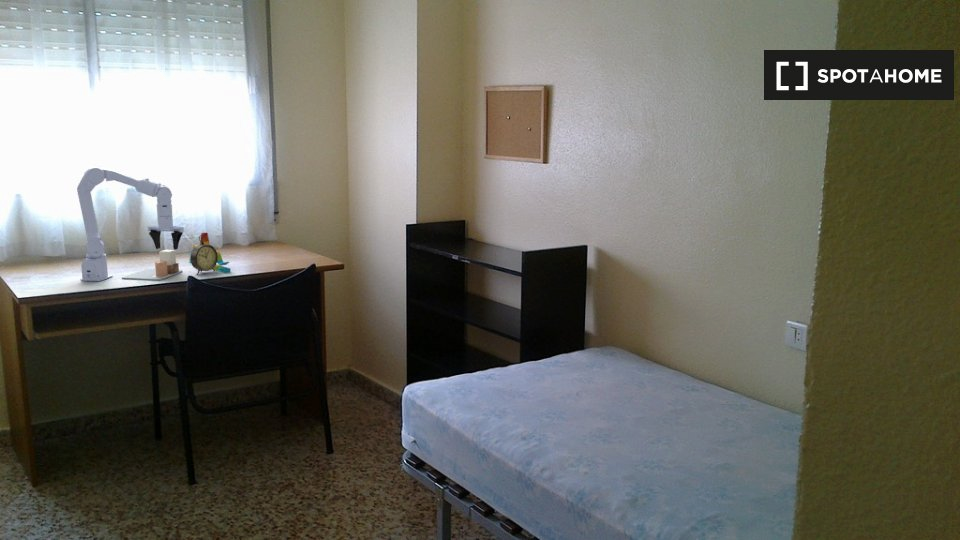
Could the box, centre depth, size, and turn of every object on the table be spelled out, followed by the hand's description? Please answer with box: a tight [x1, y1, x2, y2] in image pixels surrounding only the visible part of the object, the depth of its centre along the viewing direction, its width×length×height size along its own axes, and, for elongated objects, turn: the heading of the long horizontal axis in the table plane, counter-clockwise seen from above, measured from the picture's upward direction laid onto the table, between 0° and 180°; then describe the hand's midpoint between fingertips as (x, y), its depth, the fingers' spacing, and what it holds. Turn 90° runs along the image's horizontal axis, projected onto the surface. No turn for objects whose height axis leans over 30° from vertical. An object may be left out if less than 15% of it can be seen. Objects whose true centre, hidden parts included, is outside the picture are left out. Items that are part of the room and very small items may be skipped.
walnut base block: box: [167, 262, 180, 274], centre depth 321 cm, size 6×6×4 cm
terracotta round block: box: [154, 260, 168, 277], centre depth 314 cm, size 4×4×6 cm
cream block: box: [158, 249, 177, 265], centre depth 320 cm, size 4×4×6 cm
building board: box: [121, 268, 183, 282], centre depth 318 cm, size 18×16×1 cm
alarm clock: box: [189, 233, 218, 276], centre depth 323 cm, size 11×5×16 cm, turn 148°
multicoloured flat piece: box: [188, 232, 231, 274], centre depth 335 cm, size 30×3×15 cm, turn 46°
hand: (166, 248), depth 319 cm, fingers open, 7 cm apart
